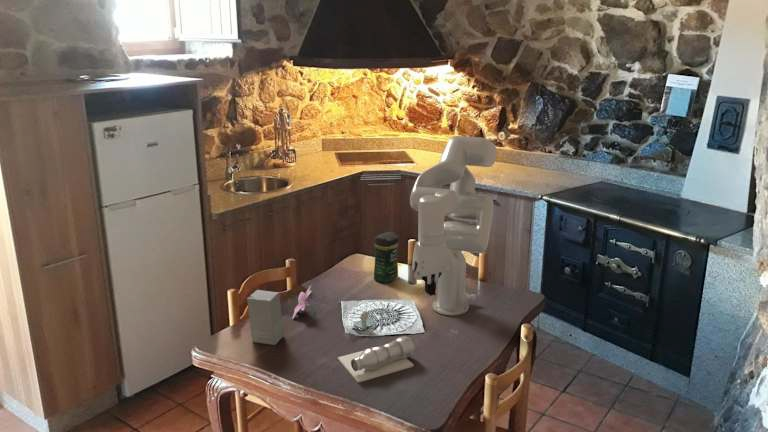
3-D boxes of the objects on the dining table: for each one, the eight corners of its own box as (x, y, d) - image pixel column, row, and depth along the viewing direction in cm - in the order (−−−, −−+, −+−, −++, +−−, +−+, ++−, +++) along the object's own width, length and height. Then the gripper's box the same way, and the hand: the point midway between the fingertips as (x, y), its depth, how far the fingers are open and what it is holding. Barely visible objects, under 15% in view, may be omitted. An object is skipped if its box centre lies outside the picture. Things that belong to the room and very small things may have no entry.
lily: (304, 305, 219) (290, 286, 215) (331, 299, 214) (317, 278, 210) (292, 329, 210) (277, 310, 206) (320, 323, 204) (305, 303, 200)
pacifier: (347, 328, 201) (360, 334, 197) (346, 311, 199) (360, 316, 196) (362, 320, 206) (376, 326, 203) (362, 303, 205) (375, 308, 201)
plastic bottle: (401, 338, 187) (345, 357, 176) (411, 331, 182) (354, 351, 171) (410, 357, 185) (353, 379, 174) (420, 351, 180) (363, 373, 169)
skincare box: (284, 336, 195) (282, 291, 191) (273, 347, 189) (270, 300, 184) (261, 332, 198) (258, 287, 193) (249, 342, 192) (246, 296, 187)
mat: (390, 345, 191) (390, 343, 190) (413, 366, 179) (413, 364, 179) (337, 359, 183) (337, 357, 182) (357, 382, 171) (357, 380, 171)
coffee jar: (386, 285, 234) (387, 239, 228) (370, 280, 238) (370, 235, 232) (401, 277, 241) (402, 232, 235) (385, 272, 246) (385, 228, 240)
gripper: (445, 228, 185) (444, 283, 192) (402, 238, 179) (402, 294, 185) (459, 236, 179) (457, 292, 185) (415, 246, 172) (415, 304, 179)
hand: (430, 293), depth 185 cm, fingers closed
